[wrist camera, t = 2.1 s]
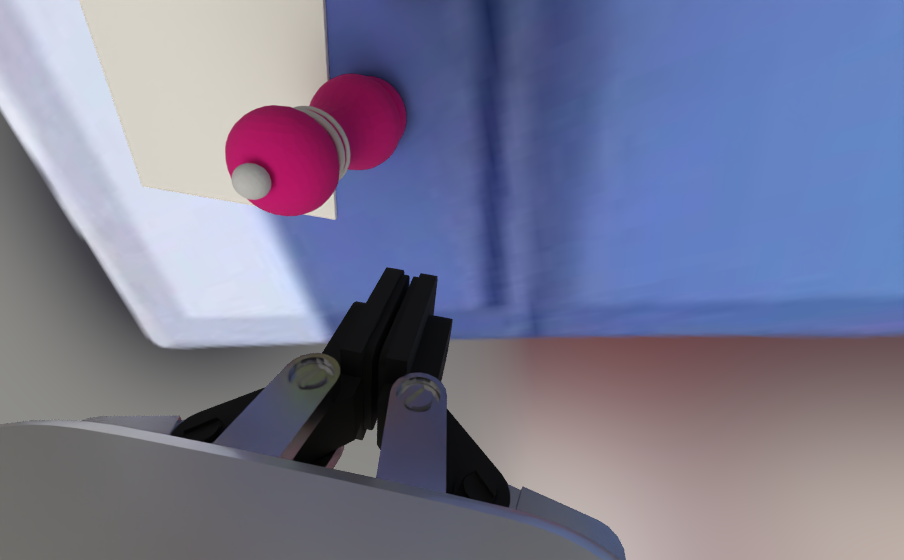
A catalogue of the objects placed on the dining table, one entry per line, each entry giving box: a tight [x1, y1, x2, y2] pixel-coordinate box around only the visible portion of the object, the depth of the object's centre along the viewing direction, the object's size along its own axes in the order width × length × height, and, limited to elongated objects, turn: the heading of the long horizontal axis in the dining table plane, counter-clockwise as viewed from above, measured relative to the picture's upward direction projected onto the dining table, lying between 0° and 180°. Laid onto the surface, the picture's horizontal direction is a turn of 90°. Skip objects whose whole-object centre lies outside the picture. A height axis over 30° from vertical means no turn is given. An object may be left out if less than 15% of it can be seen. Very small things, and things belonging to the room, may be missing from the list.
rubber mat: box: [79, 0, 337, 220], centre depth 36 cm, size 22×22×1 cm
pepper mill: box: [225, 74, 406, 216], centre depth 27 cm, size 7×7×20 cm
